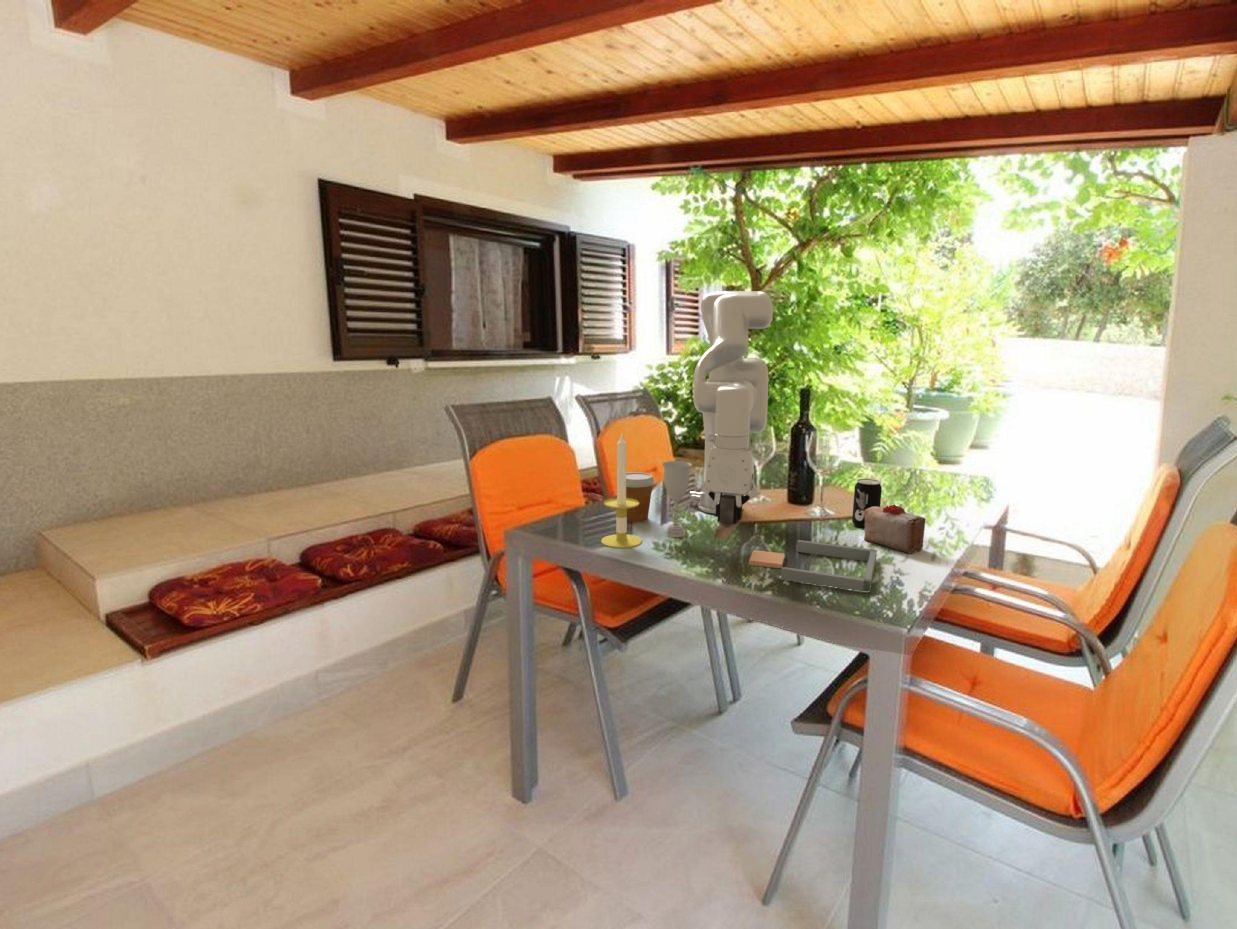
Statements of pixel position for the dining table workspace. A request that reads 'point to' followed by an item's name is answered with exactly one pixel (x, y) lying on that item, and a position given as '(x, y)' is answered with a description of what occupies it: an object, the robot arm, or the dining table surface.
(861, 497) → the beverage can
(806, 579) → the frame
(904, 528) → the food item
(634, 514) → the disposable coffee cup
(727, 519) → the scraper
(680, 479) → the chalice
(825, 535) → the dining table surface
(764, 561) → the tile
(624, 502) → the candle
